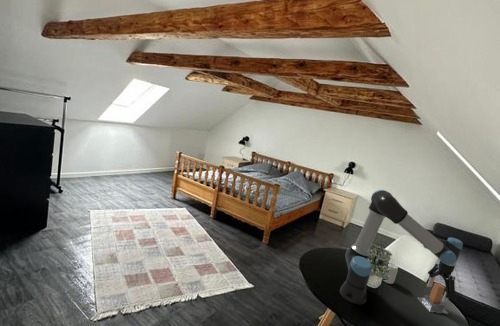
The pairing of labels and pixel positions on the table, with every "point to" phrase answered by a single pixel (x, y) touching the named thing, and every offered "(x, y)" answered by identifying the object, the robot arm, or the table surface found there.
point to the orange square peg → (436, 293)
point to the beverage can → (392, 273)
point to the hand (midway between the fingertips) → (436, 293)
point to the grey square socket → (432, 305)
